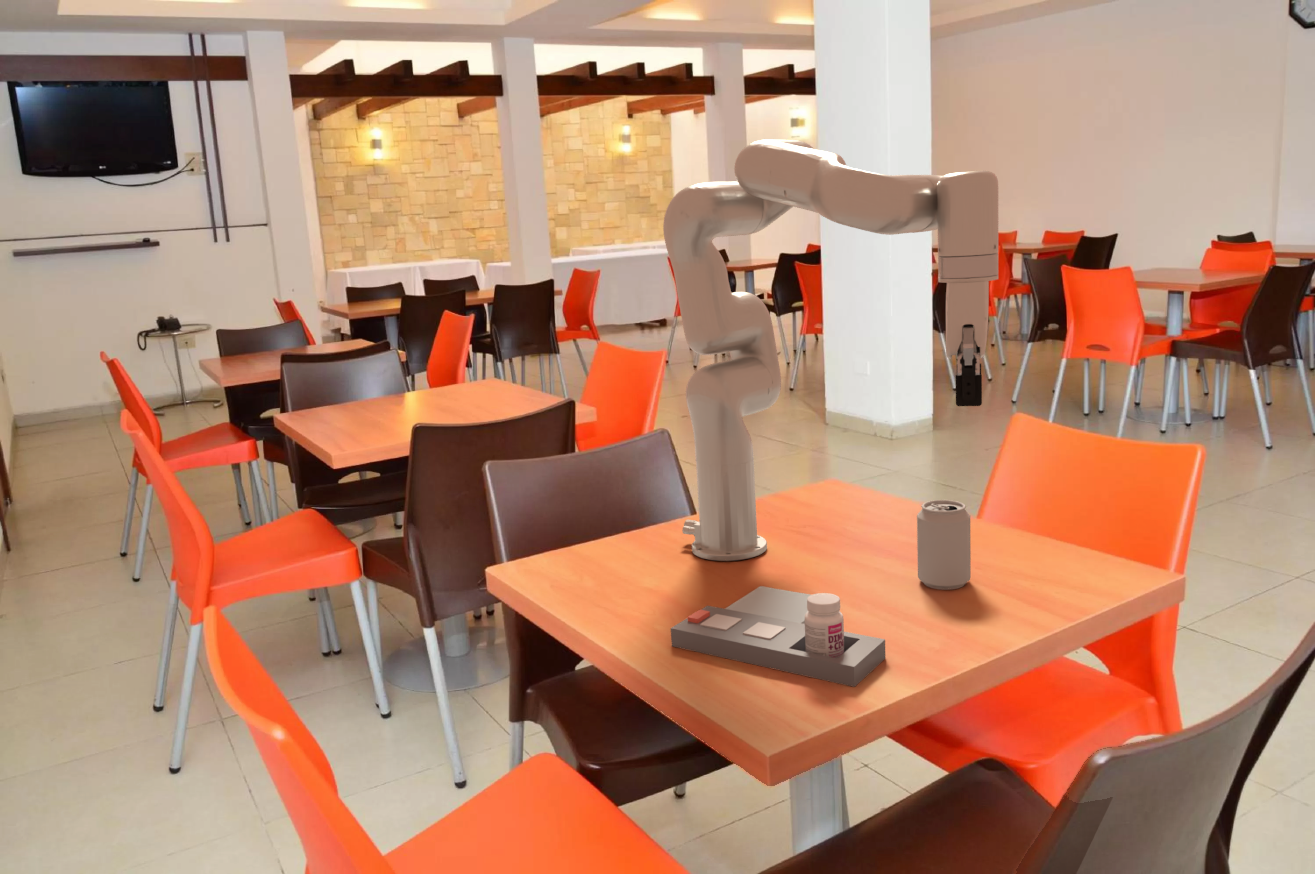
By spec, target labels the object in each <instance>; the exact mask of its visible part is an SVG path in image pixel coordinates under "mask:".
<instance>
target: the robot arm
mask: <svg viewBox="0 0 1315 874" xmlns="http://www.w3.org/2000/svg"><path fill="white" fill-rule="evenodd" d="M733 169H734V175H735V179H736V181H709V182H708V181H707V182H699V183H695V184H692V185H688V186H686V187H684V188H682V189H681V190H680V191H678V192H677V193H676V194H675V195H674V196H672V197H673V198H671V200H670V202H669V203H668V205H667V208H666V210H665V214H664V217H663V224H662V225H663V226H662V227H663V228H662V229H663V237H664V243H665V247H666V251H667V253H668V254H667V255H668V258H669V260H670V263H671V267H672V270H673V274H674V280H675V287H676V294H677V299H678V304H679V310H680V316H681V322H682V328H683V333H684V337H685V341H686V343H687V345H688V347H689V348H690V349H691V350H692V352H694V353H696V354H698V355H701V356H713V355H719V354H725V353H729V356H730V359H728V360H723V361H717V362H714V363H710V364H708V365H707V364H706V365H705V366H702V367H701V368H699V369H697V370H696V371H695V372H694V373H693V374H692V375H691V376H690V378H689V380H688V381H687V384H686V389H685V400H686V405H687V409H688V412H689V413H688V414H689V417H690V421H691V425H692V431H693V440H694V454H695V463H696V464H695V465H696V466H695V467H696V468H695V469H696V480H697V481H696V485H697V500H698V519H699V521H697V520H695V519H693V520H692V519H686V520H685V521H684V523H683V527H682V534H684V535H693V536H694V540H693V542H692V543H691V552H692V554H693V555H695V556H696V557H698V558H701V559H705V560H710V561H717V562H719V561H720V562H732V561H742V560H748V559H752V558H754V557H755V558H756V557H757V556H760V555H762V554H763V553H764V552H766V551H767V549H768V542H767V540H766V538H764V537H763V536H761V535H758V527H757V524H758V523H757V507H756V506H757V505H756V504H757V503H756V502H757V501H756V483H755V482H756V481H755V463H754V462H755V461H754V459H755V458H754V445H753V441H752V437H751V435H750V432H749V430H748V428H747V426H746V424H745V421H744V419H743V417H747V416H749V415H753V414H757V413H759V412H763V411H765V410H768V409H769V408H771V407H772V406H774V404H775V403H777V400H778V399H779V396H780V394H781V389H782V376H781V375H782V374H781V368H780V361H779V356H778V349H777V345H776V344H777V343H776V337H775V332H774V326H773V321H772V317H771V315H770V312H769V310H768V307H767V306H766V304H765V303H764V301H762V300H761V298H760V297H759V296H757V295H756V294H753V293H751V292H746V291H734V292H732V291H731V290H732V289H731V285H730V282H729V281H730V280H729V274H728V269H727V265H726V263H725V261H724V258H723V256H722V255H721V253H720V251H719V249H718V248H717V247H716V246H715V245H714V243H713V241H714V239H715V238H720V237H722V238H723V237H736V236H748V235H752V234H753V235H754V234H755V233H759V232H760V231H762V230H764V229H766V228H767V227H768V226H769V225H771V224H772V223H774V222H775V221H776V220H778V219H779V218H780V217H782V216H783V215H784V214H786V213H787V212H788V211H790V210H791V209H792V208H793V207H794V208H798V209H802V210H805V211H809V212H813V213H817V214H819V215H820V216H821V217H822V218H823V217H824V218H825V219H827V220H829V221H831V222H834V223H837V224H839V225H843V226H846V227H850V228H855V229H857V230H861V231H865V232H870V233H875V234H880V235H886V236H887V235H890V236H893V235H899V234H909V233H910V234H911V233H914V234H915V233H924V232H930V231H936V230H937V261H938V262H937V266H938V267H937V268H938V270H937V271H938V274H937V275H938V276H937V277H938V281H937V282H938V283H943V284H944V283H946V292H945V349H946V350H945V351H946V352H945V353H946V356H945V357H946V358H947V359H949V360H951V359H952V358H953V357H952V356H957V357H956V360H957V363H956V375H955V404H956V406H957V407H980V406H981V405H982V404H983V396H982V395H983V387H982V386H983V382H982V381H983V379H982V378H983V376H982V363H980V361H981V359H982V358H983V357H984V356H985V355H986V348H987V340H988V331H989V329H988V328H989V307H990V306H989V303H990V302H989V300H990V299H989V298H990V296H989V294H990V293H989V291H990V290H989V289H990V288H989V285H990V281H997V280H999V180H998V177H997V176H996V174H995V173H994V172H992V171H988V170H974V171H973V170H971V171H960V172H952V173H946V174H945V175H937V174H897V175H896V174H895V175H894V174H893V175H892V174H891V175H890V174H882V173H877V172H871V171H867V170H862V169H858V168H855V167H854V168H853V167H850V166H847V164H846V161H845V160H844V157H842V156H841V155H840V154H838V153H835V152H832V151H831V152H830V151H828V150H827V151H826V150H821V149H815V148H814V147H813V146H811V144H809V143H807V142H805V141H802V140H797V139H761V140H756V141H753V142H751V143H749V144H747V145H746V146H745V147H744V148H743V149H742V150H740V152H739V153H738V155H737V157H736V159H735V162H734V168H733Z"/></svg>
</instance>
